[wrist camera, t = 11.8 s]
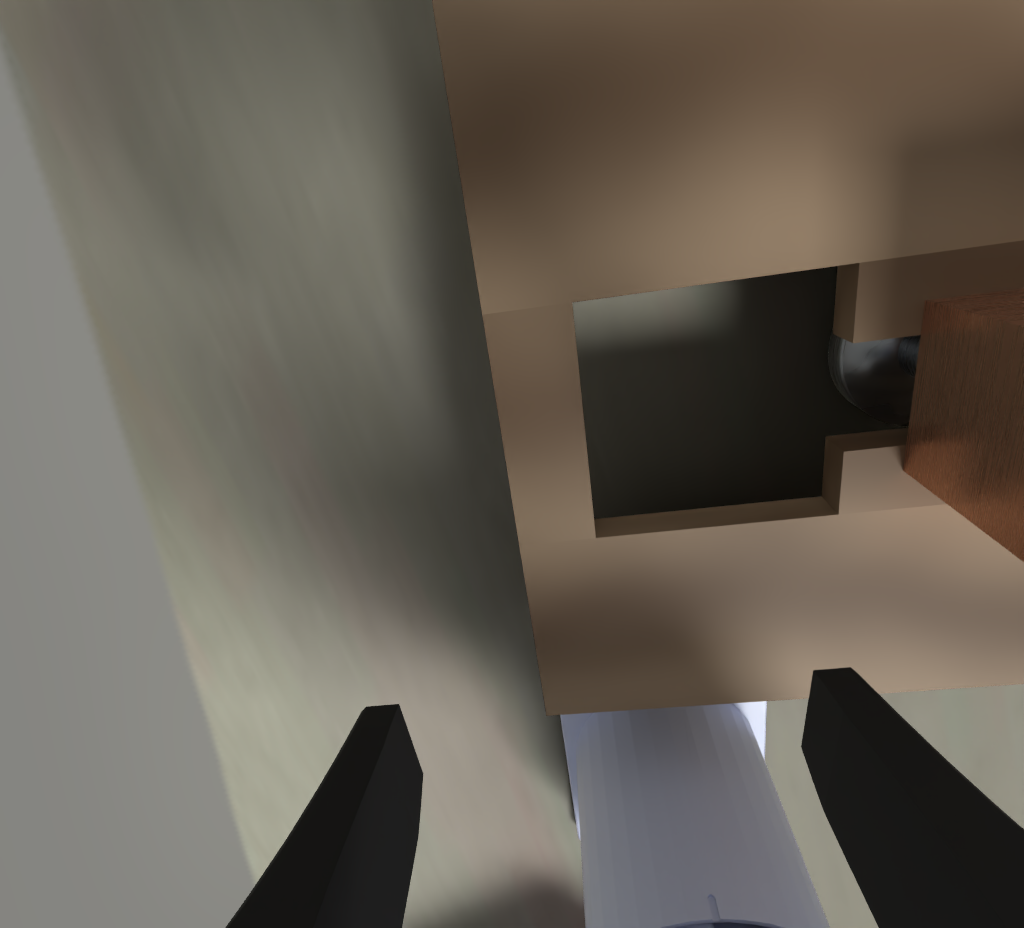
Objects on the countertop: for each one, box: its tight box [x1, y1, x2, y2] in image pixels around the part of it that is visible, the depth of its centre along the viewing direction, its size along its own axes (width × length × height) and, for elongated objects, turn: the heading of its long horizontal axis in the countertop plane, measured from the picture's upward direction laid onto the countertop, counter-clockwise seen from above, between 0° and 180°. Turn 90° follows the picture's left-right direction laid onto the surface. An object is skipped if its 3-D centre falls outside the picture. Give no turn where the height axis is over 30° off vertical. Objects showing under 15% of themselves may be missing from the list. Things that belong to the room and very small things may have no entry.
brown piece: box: [828, 288, 1024, 562], centre depth 13 cm, size 4×4×8 cm
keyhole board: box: [432, 0, 1024, 716], centre depth 16 cm, size 18×16×5 cm
